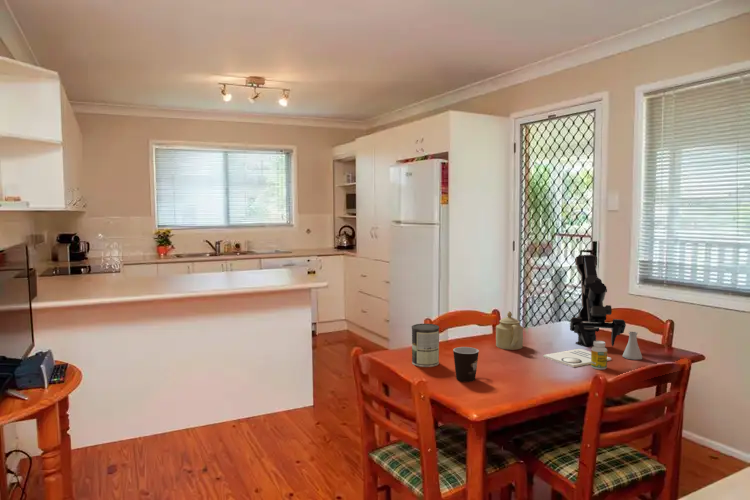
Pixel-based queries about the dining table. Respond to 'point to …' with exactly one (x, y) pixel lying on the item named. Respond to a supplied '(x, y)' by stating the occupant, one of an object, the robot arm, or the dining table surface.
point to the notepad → (572, 357)
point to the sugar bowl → (509, 333)
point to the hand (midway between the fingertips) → (599, 344)
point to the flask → (632, 348)
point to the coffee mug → (465, 363)
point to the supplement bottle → (599, 355)
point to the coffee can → (425, 345)
